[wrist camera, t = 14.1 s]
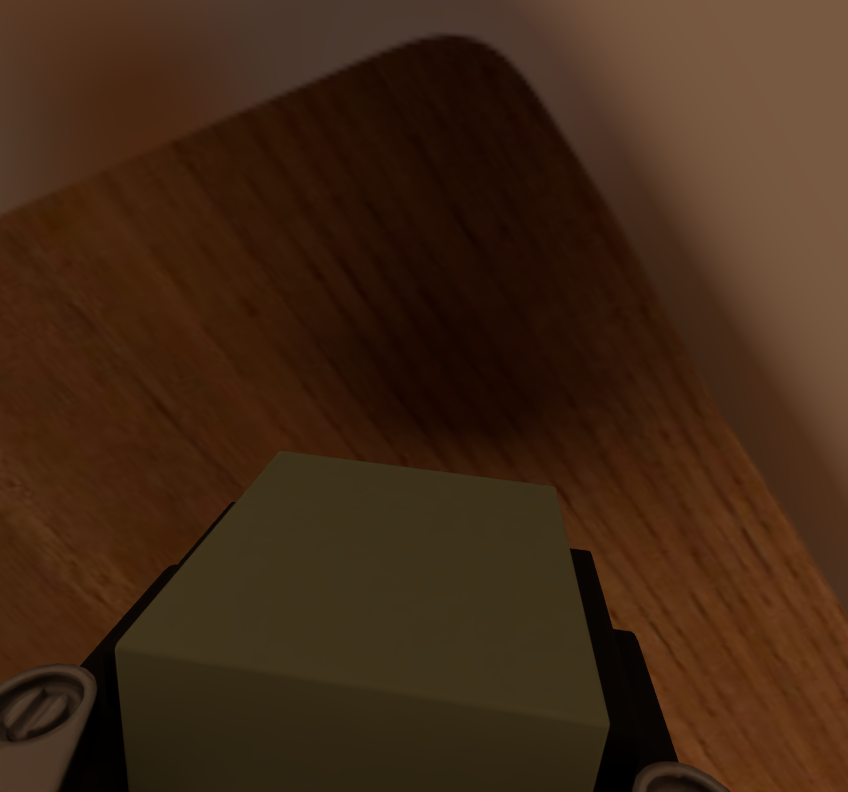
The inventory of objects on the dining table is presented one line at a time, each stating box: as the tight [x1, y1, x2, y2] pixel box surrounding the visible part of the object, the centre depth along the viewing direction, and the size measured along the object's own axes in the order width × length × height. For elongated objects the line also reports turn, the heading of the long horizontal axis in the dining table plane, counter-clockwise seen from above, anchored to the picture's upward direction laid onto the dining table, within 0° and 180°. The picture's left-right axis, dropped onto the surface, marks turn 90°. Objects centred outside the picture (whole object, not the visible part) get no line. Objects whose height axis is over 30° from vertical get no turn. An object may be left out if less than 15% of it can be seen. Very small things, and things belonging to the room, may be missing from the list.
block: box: [115, 451, 610, 792], centre depth 9 cm, size 5×5×5 cm
